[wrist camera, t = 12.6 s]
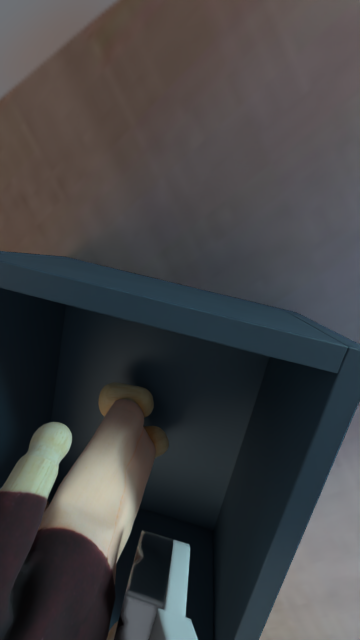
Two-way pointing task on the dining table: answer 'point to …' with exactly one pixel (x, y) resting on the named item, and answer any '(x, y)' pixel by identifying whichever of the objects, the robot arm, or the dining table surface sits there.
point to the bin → (184, 416)
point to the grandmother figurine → (74, 522)
